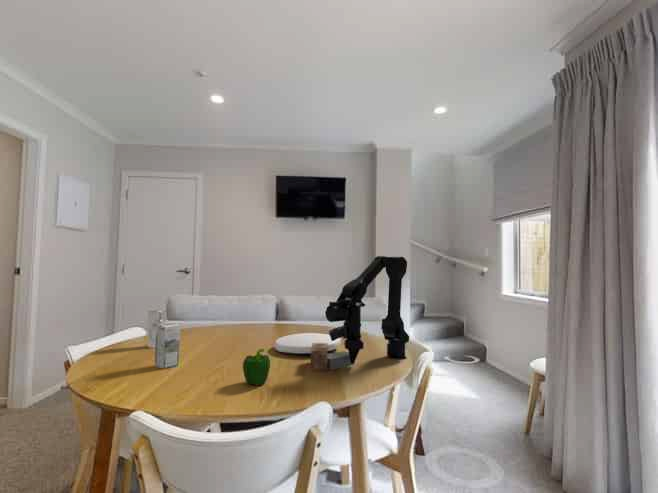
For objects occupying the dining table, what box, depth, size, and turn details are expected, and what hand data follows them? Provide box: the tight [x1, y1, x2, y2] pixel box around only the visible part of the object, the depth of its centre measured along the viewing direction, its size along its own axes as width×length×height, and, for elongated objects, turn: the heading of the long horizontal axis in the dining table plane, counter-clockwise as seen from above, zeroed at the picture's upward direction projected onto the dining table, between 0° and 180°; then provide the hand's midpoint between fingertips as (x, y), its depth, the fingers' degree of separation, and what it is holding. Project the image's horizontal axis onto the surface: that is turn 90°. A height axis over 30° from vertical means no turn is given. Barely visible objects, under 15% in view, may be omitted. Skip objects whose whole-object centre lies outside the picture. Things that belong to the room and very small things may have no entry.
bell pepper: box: [242, 348, 271, 386], centre depth 107 cm, size 8×8×10 cm
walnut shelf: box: [310, 343, 329, 372], centre depth 125 cm, size 6×11×7 cm, turn 0°
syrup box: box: [154, 322, 181, 370], centre depth 123 cm, size 6×6×14 cm
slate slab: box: [327, 350, 356, 371], centre depth 127 cm, size 12×6×4 cm, turn 131°
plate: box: [274, 332, 342, 354], centre depth 149 cm, size 28×6×27 cm
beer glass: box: [146, 309, 166, 349], centre depth 151 cm, size 7×7×15 cm
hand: (352, 363), depth 125 cm, fingers closed
